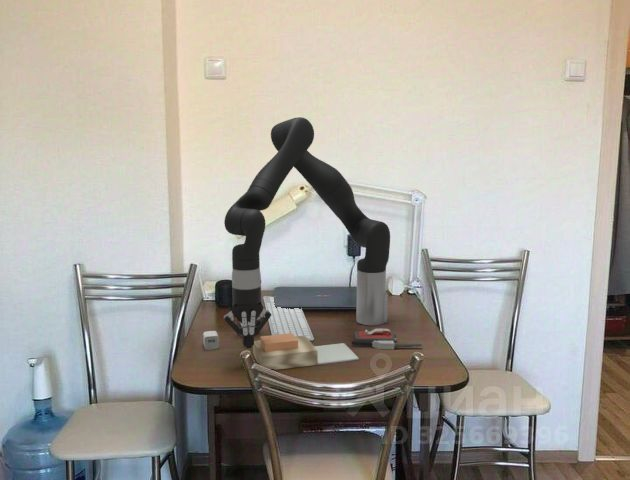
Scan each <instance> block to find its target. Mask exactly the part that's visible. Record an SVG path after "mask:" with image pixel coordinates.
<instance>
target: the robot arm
mask: <svg viewBox="0 0 630 480" xmlns="http://www.w3.org/2000/svg"><path fill="white" fill-rule="evenodd" d="M314 137H315V131H314V126H313V124H312V123H311V122H310V120H309V119H307V118H306V117H302V116H301V117H293V118H289V119H286V120H284V121H281V122H278V123H277V124H275V125H274V126H273V127H272V128H271V130H270V139H271V142H272V145H273V146H274V148H275V150H277V153H276V154H275V155H274V156H273V157H272V158H271V159H270V160H269V161H268V162H267V163H266V164H265V165H264V166H263V167H262V168H261V169H260V171H258V173H257V174H256V176H255V177H254V179H252V181H251V184H250V185H249V187H248V189H247V191H246V192H245V193H244V194H242V196H240V197H239V198H238V199H237V200H236V201H235V202H234V203H233V205H231V206H230V207H229V209H228V210H227V212H226V213H225V217H224V222H223V223H224V228H225V230H226V231H227V233H228V234H231V235H236V236H240V237H241V236H242V237H245V239H244V242H243V243H240V244H236V245H234V246H233V247H232V250H231V258H232V259H231V261H232V265H231V266H232V267H231V268H232V271H231V289H232V290H231V292H232V294H231V295H232V305H231V307H230V311H229V312H228V313H226V314H223V319H224V321H225V322H226V323H227V325H229V326H230V328H231V329H232V330H233V331H234V332H235V333H236V334H237V335H239V334H242V336H241V338H242V345H243V347H244V348H245V349H253V345H254V341H255V334H254V333H256V332H261V331H262V329H263V328H264V326H265V325H266V324H267V322H269V321H268V319H269V318H270V317H271V313H270V312H269V311H268V310H266V308H264V305H263V304H262V276H261V268H260V267H261V266H260V250H261V247H262V243H263V238H264V234H265V230H266V218H265V215H264V214H263V213H262V211H265V210H267V209H268V208H269V207H270V206H271V205H272V202H273V201H274V199H275V197H276V195H277V193H278V192H279V190H280V188H281V185H283V182H284V181H285V180H286V178H287V177H288V175H289V173H290V172H291V171H292V170H293V168H294V169H296V171H297V172H299V174H300V175H301V176H302V177H303V179H305V180H306V182H307V183H308V184H309V185H310V186H311V188H313V190H314V191H315V193H316V194H317V195H318V196H319V198H320V199H321V200H322V201H323V203H324V204H326V206H328V208H329V209H330V211H332V213H333V214H334V215H335V217H336V218H338V219H339V221H341V223H342V224H343V227H345V229H346V231H347V232H348V233H349V235H350V237H351V238H352V239H353V241H354V242H355V243H356V244H357V245H358V246H360V247H361V248H365V252H364V253H365V254H364V257H363V258H361V259H359V260H358V261H357V263H356V307H355V308H356V311H355V313H356V315H355V316H356V319H355V321H356V322H357V323H358V324H360V325H364V326H379V325H383V324H385V323H388V305H389V304H388V303H389V300H388V297H389V295H388V293H387V292H386V281H387V280H386V278H387V277H386V276H387V273H386V272H387V265H388V262H389V258H390V250H391V249H390V248H391V247H390V246H391V231H390V227H389V226H388V225H387V224H386V223H385V222H383V221H380V220H376V219H372V218H369V217H367V215H366V214H364V212H363V211H362V210H361V209H360V207H359V206H358V205H357V203H356V201H355V195H354V191H353V189H352V186H351V184H349V182H348V180H347V179H346V178H345V177H344V175H343V174H342V173H341V172H340V171H339V170H338V169H337V168H335V166H334V167H333V166H332V165H330V164H328V163H326V161H323V160H321V159H319V158H317V157H316V156H314V155H313V154H312V153H311V152H309V150H308V149H309V148H310V147H311V146H312V144H313V141H314V140H315V138H314ZM259 315H260V316H261V317H260V319H259V321H258V322H257V323H256V325H255V321H256V320H257V318H258V317H259ZM234 317H235V318H236V320H237V319H238V321H240V323H241V328H239V327H238V326H237V323H236V322H235V321H234V320H235V319H234ZM247 322H248V331H247Z"/></svg>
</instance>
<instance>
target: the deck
mask: <svg viewBox="0 0 630 480" xmlns="http://www.w3.org/2000/svg"><path fill="white" fill-rule="evenodd" d="M295 337H296V338H297V340H298V348H296V349H287V350H278V351H269V352H265V351H264V349H263V347H262V346H261V343H260V339H258V340H254V345H253V346H252V355H253V357H254V359H255V361H256V362H257V364H258V363H259V364H261V365H263V366H266V367H268V368H271V369H274V370H273V371H275V370H284V369H292V368H300V367H308V366H311V367H312V366H317V365H318V350H317V349H316V348H315V347H314V346H315V345H313V343H312V341H309V340H308V338H307V337H306V336H295ZM259 364H258V365H259Z"/></svg>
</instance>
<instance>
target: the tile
mask: <svg viewBox="0 0 630 480" xmlns="http://www.w3.org/2000/svg"><path fill="white" fill-rule="evenodd" d="M259 340H260V343H261V346H262V347H263V349H264V351H265V352H269V351H278V350H287V349H296V348H298V340H297V338H296V337H295V336H294V335H293V333H289V334H279V335H272V334H270V335H262V336H261V335H260V339H259Z"/></svg>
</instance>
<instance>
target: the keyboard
mask: <svg viewBox="0 0 630 480" xmlns="http://www.w3.org/2000/svg"><path fill="white" fill-rule="evenodd" d="M274 297H275V296H269V295H268V296H265V295H264V296H263V297H262V298H263V303H264V307H265V308H264V309H265V310H268V311H269V312H270V313H271V317H270V318H269V319H268V321H267V322H268V325H269V329H270V333H271V334H270V335H279V334H289V333H293V335H294V336H306V337H307V338H308V340H309V341H310V342H313V341H315V338H314V335H313V333H312V330H311V328H310V325H309V322H308V321H307V319H306V318H307V317H306V316H305V313H304V311H303V309H302V308H301V309H299V308H294V309H290V308H289V309H288V308H287V309H286V308H281V307H277V308H276V307H275V305H274V304H275V303H274Z"/></svg>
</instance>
